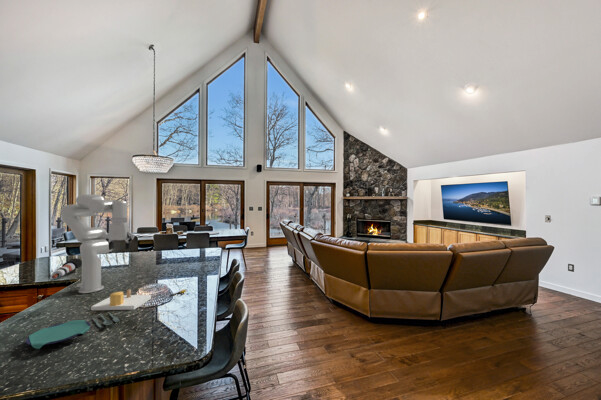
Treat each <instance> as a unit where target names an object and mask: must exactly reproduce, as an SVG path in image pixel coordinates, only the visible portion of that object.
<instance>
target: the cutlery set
mask: <svg viewBox="0 0 601 400" xmlns="http://www.w3.org/2000/svg"><path fill="white" fill-rule="evenodd" d="M107 314H108V315H109V316H110V318H112V319H109V320H108V319H106V318H105V317H104V315H103V314H99V317H100V318H101V319H103V320H104V321H103V322H102V324H103V325H105V326H108V325H111V324H112V323H113V322H115V323H120V322H121V320H120V319H119V318H118V317H117V316H114V315H113V314H112V313H111V312H110V311H109V312H108V313H107ZM91 320H93V321H94V322H93V323H94V324H95V325H96V326H97V328H102V325H101V324H100V323H99V320H98V319H97V320H96V319H95V317H93V316H92V317H91ZM90 327H91V323H90V322H89V321H86V320H85V319H84V320H83V319H82V320H80V319H76V320H70V321H67V322H62V323H57V324H55V325H51V326H48V327H45V328H41V329H38V330H36V331H35V332H33V333H31V334H29V335H28V337H27V338H26V339H25V343H26V344H27V345H28V346H31V347H32V348H33V349H37V350H40V349H41V348H42V347H43V346H46V345H52V344H56V343H60V342H64V341H67V340H69V339H72V338H75V337H78V336H79V335H83V334H85V333H86V332H88V331H89V330H90Z"/></svg>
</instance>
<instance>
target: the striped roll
mask: <svg viewBox="0 0 601 400" xmlns="http://www.w3.org/2000/svg"><path fill="white" fill-rule="evenodd" d="M81 267H82V259H79V258H72V259H69V260H68V261H66V262H64V263H63V264H62V265H61V267H59V268H58V269H57V270H54V271H53V272H52V276H51V278H52V279H56V278H57V277H60V276H62V277H63V276H64V275H66V274H68V273H70V272H72V271H73V270H75V269H79V268H81Z"/></svg>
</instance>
